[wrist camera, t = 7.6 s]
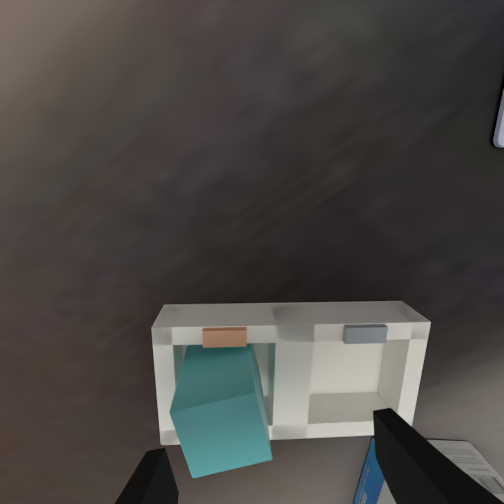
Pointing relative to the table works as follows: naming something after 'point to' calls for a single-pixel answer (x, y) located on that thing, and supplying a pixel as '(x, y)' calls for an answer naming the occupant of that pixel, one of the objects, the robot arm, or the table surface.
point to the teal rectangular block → (220, 410)
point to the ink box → (459, 452)
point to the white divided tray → (304, 360)
